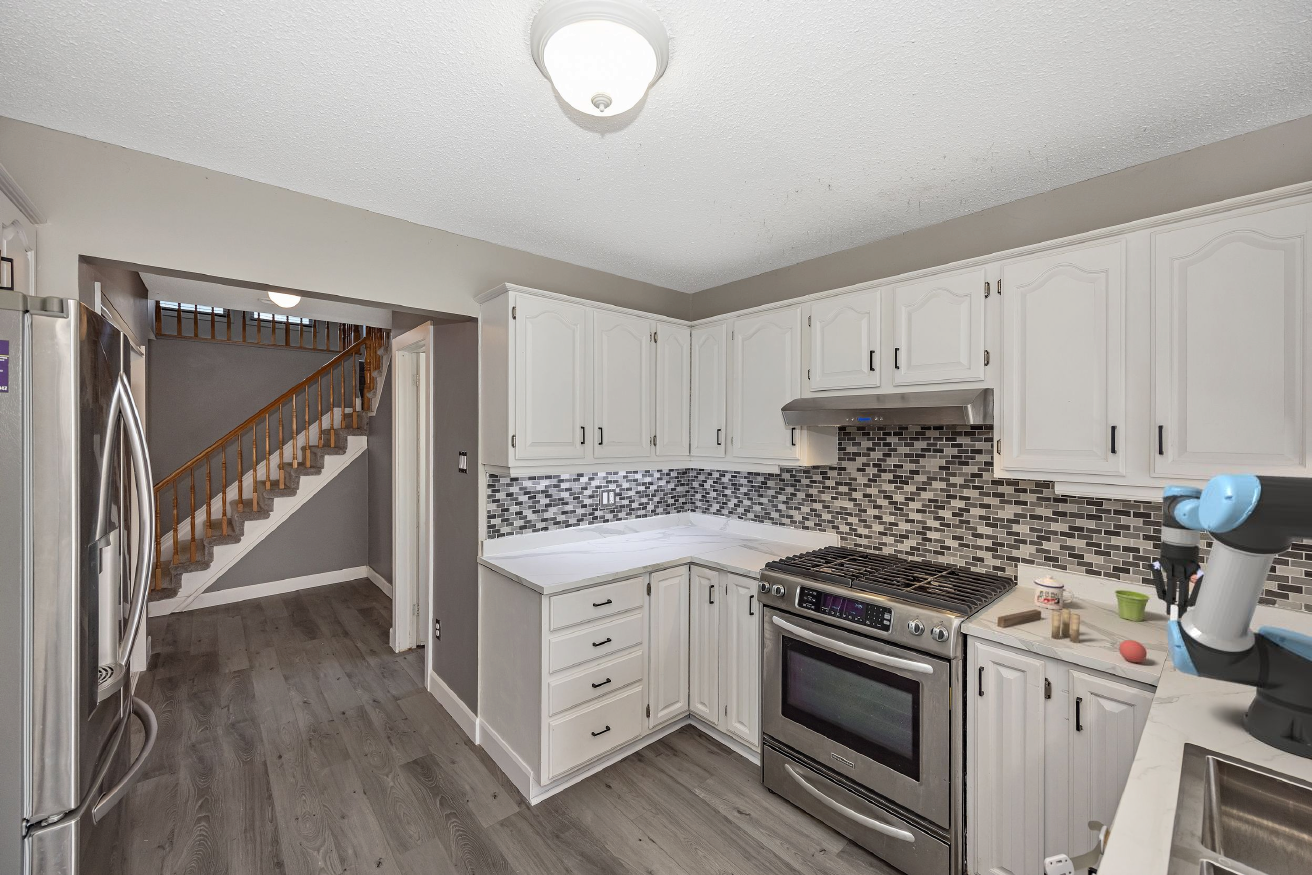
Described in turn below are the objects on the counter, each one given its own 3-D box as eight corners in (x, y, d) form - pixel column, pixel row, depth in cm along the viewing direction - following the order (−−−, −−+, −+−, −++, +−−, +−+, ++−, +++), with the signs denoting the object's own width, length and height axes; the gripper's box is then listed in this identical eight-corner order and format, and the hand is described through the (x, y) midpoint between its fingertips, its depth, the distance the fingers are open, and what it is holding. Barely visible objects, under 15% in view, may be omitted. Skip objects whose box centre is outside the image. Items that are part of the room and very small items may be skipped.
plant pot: (1155, 624, 185) (1156, 599, 185) (1124, 622, 187) (1125, 597, 187) (1137, 614, 194) (1138, 591, 194) (1107, 612, 196) (1108, 589, 196)
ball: (1152, 666, 153) (1152, 645, 152) (1129, 665, 153) (1130, 644, 153) (1134, 657, 159) (1135, 637, 158) (1113, 656, 159) (1114, 636, 159)
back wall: (1040, 619, 188) (1041, 611, 188) (1003, 627, 180) (1003, 619, 180) (1034, 617, 190) (1035, 609, 190) (997, 625, 182) (997, 616, 182)
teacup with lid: (1033, 606, 201) (1034, 576, 201) (1033, 600, 209) (1034, 570, 208) (1074, 613, 194) (1075, 581, 194) (1072, 606, 202) (1073, 575, 202)
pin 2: (1071, 637, 173) (1072, 610, 173) (1064, 636, 173) (1065, 610, 173) (1066, 634, 175) (1067, 608, 175) (1059, 634, 175) (1060, 608, 175)
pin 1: (1061, 639, 171) (1062, 613, 171) (1054, 639, 171) (1055, 612, 171) (1056, 636, 173) (1057, 610, 173) (1049, 636, 173) (1050, 610, 173)
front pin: (1080, 643, 168) (1081, 616, 168) (1073, 642, 169) (1074, 615, 168) (1075, 640, 171) (1076, 613, 170) (1068, 639, 171) (1069, 613, 170)
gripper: (1219, 547, 142) (1214, 635, 143) (1157, 536, 153) (1153, 618, 154) (1205, 549, 139) (1200, 640, 140) (1142, 539, 150) (1139, 622, 151)
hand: (1175, 628), depth 147 cm, fingers closed
